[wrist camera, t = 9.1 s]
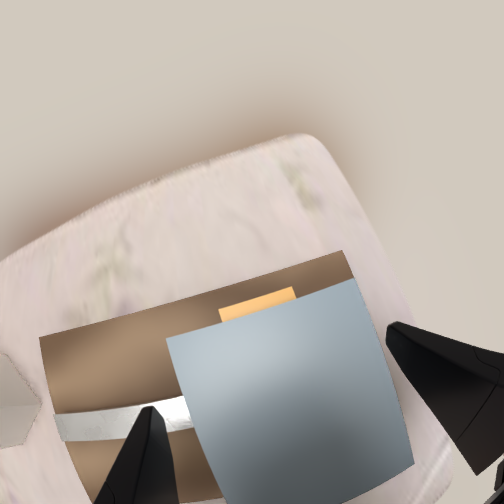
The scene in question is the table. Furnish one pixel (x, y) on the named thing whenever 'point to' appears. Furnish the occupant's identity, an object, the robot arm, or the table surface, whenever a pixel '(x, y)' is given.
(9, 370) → the white cube
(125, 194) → the table surface
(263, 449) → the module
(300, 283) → the rail board
